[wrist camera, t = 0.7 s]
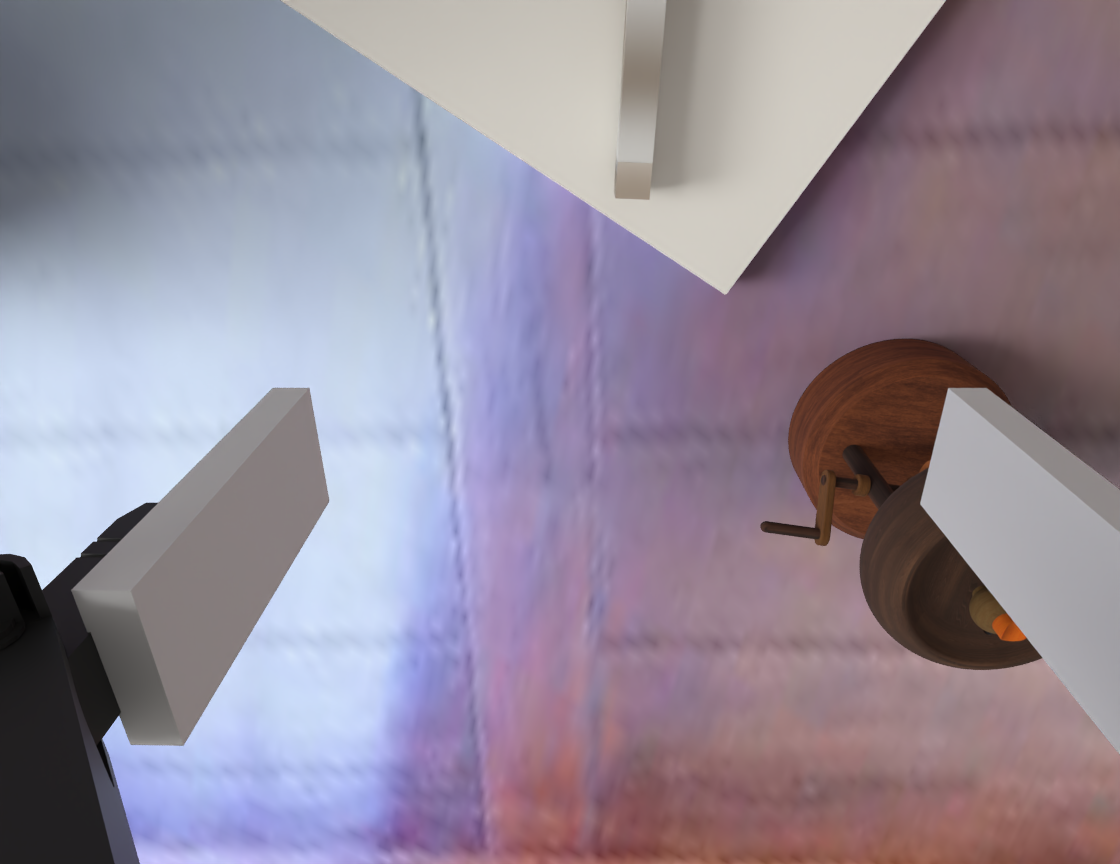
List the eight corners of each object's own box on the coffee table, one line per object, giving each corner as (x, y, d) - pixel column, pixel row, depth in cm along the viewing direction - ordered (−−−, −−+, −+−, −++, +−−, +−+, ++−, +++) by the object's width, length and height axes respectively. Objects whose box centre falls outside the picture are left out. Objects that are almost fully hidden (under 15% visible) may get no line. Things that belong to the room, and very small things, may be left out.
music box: (1044, 327, 36) (1452, 616, 19) (982, 503, 42) (1256, 849, 25) (740, 328, 37) (872, 609, 20) (719, 501, 43) (808, 838, 25)
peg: (588, -204, 26) (589, -270, 21) (728, -200, 26) (759, -264, 21) (572, 188, 32) (569, 207, 27) (686, 193, 32) (703, 213, 27)
